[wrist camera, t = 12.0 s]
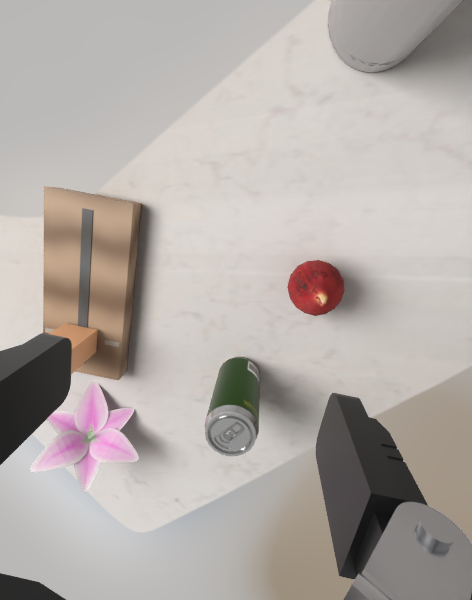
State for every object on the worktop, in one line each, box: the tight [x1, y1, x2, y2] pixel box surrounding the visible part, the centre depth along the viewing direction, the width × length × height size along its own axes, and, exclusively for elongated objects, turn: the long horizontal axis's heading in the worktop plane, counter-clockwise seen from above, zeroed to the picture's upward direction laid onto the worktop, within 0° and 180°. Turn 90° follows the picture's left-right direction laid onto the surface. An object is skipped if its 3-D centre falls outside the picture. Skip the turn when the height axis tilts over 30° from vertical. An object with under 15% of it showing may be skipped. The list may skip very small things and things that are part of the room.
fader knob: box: [49, 323, 98, 374], centre depth 38 cm, size 3×4×6 cm
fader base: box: [43, 187, 142, 380], centre depth 41 cm, size 22×10×3 cm, turn 170°
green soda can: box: [205, 357, 260, 456], centre depth 38 cm, size 5×5×12 cm
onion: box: [288, 260, 344, 316], centre depth 35 cm, size 6×6×8 cm
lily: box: [30, 381, 139, 492], centre depth 44 cm, size 12×12×10 cm
